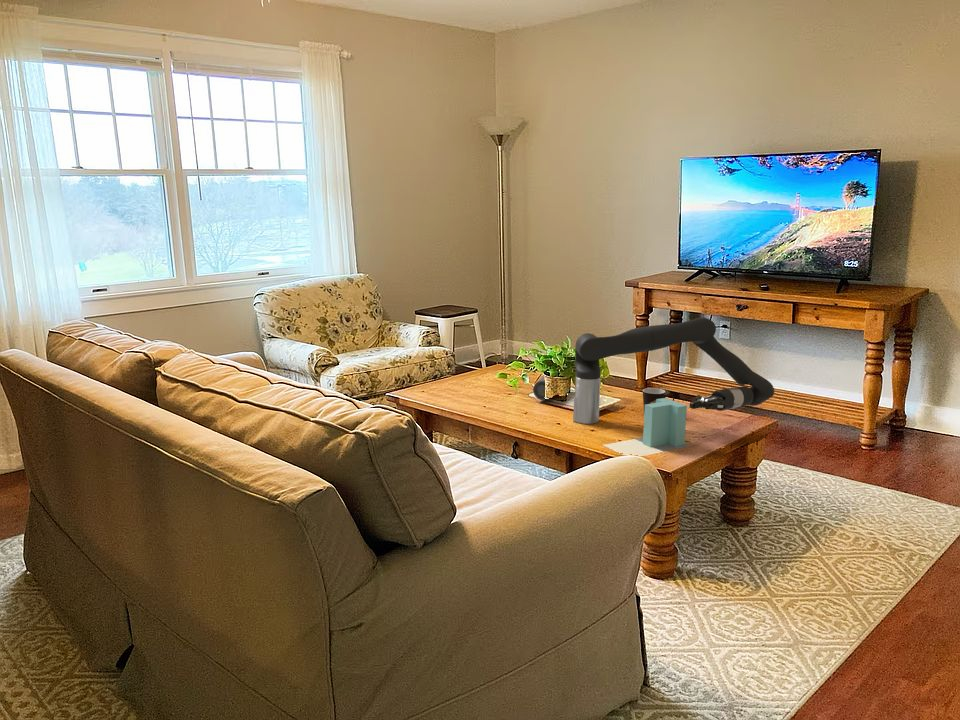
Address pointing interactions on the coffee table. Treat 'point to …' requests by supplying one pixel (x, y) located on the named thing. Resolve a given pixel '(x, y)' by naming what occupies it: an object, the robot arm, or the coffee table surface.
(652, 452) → the felt mat
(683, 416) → the tee block
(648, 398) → the coffee mug
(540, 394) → the bluetooth speaker
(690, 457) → the coffee table surface
